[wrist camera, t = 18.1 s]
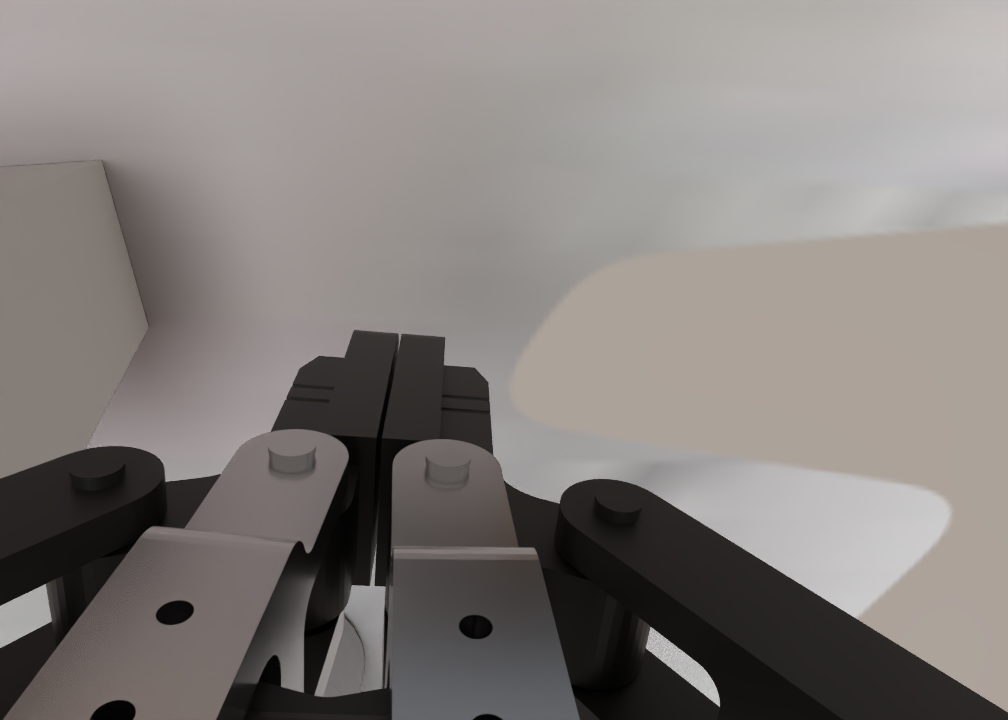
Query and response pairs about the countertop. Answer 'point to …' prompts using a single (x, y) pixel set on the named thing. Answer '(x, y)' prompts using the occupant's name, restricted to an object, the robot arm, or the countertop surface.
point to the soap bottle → (61, 309)
